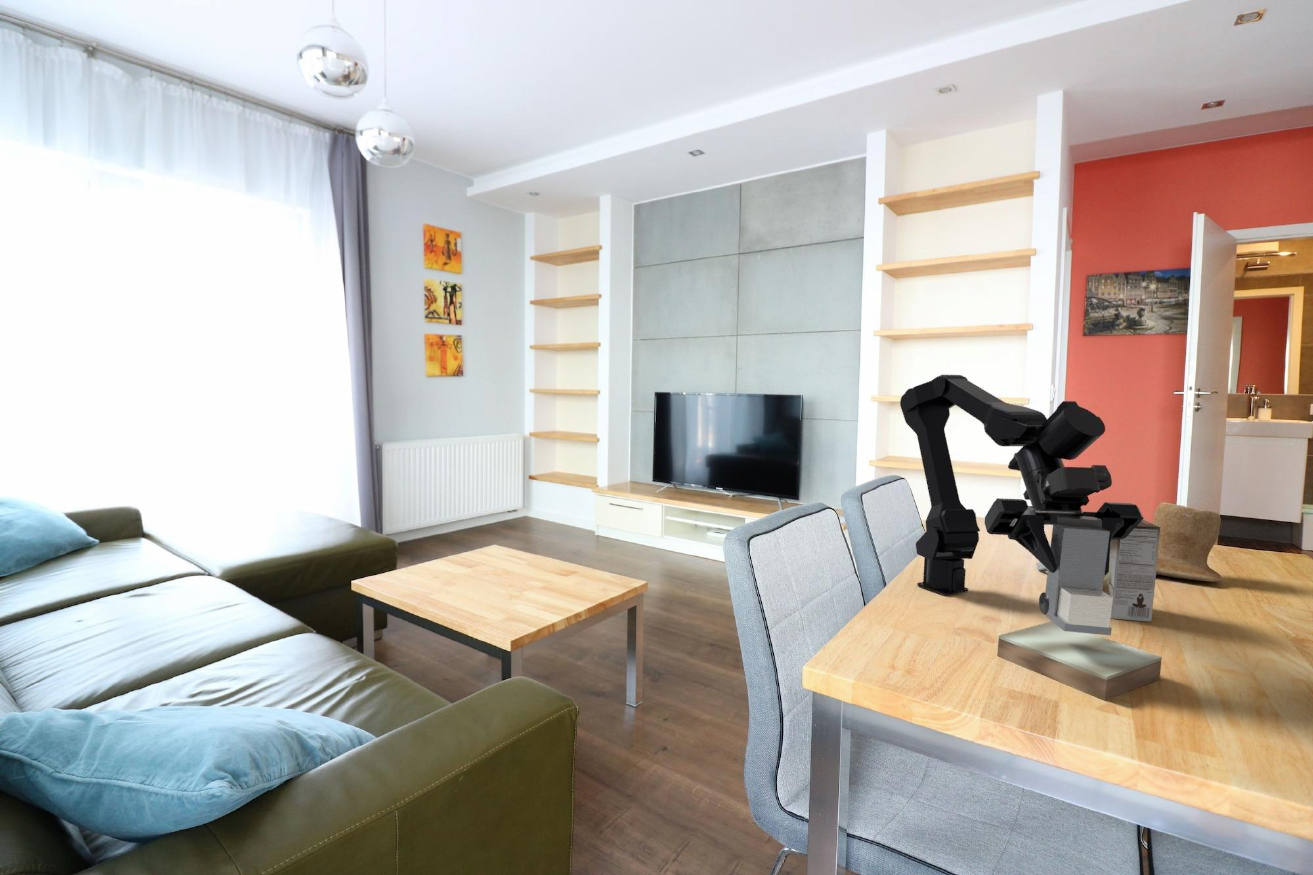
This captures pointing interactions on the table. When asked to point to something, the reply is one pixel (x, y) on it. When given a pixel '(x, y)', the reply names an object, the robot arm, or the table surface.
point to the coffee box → (1133, 573)
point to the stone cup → (1186, 541)
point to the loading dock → (1080, 659)
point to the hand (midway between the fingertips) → (1079, 572)
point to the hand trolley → (1078, 576)
